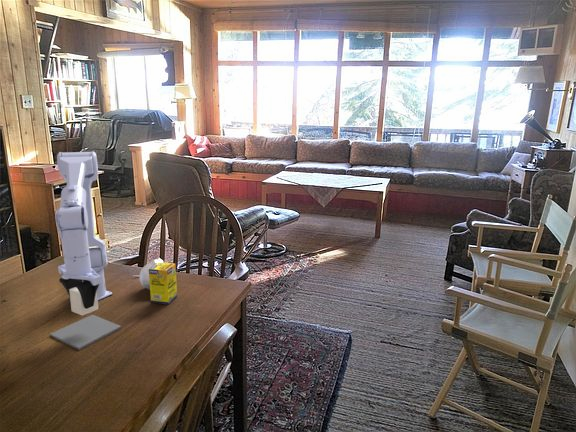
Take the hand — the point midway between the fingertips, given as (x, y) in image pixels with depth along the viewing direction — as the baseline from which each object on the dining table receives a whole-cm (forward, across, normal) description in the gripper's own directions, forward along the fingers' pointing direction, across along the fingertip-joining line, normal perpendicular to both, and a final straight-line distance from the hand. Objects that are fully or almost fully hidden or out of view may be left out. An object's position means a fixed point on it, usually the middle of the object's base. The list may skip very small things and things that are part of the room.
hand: (83, 304), depth 106 cm
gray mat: (+8, 0, 0) cm, 8 cm away
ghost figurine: (+8, -5, +28) cm, 30 cm away
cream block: (+2, 0, 0) cm, 2 cm away
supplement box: (+8, +3, +24) cm, 26 cm away
